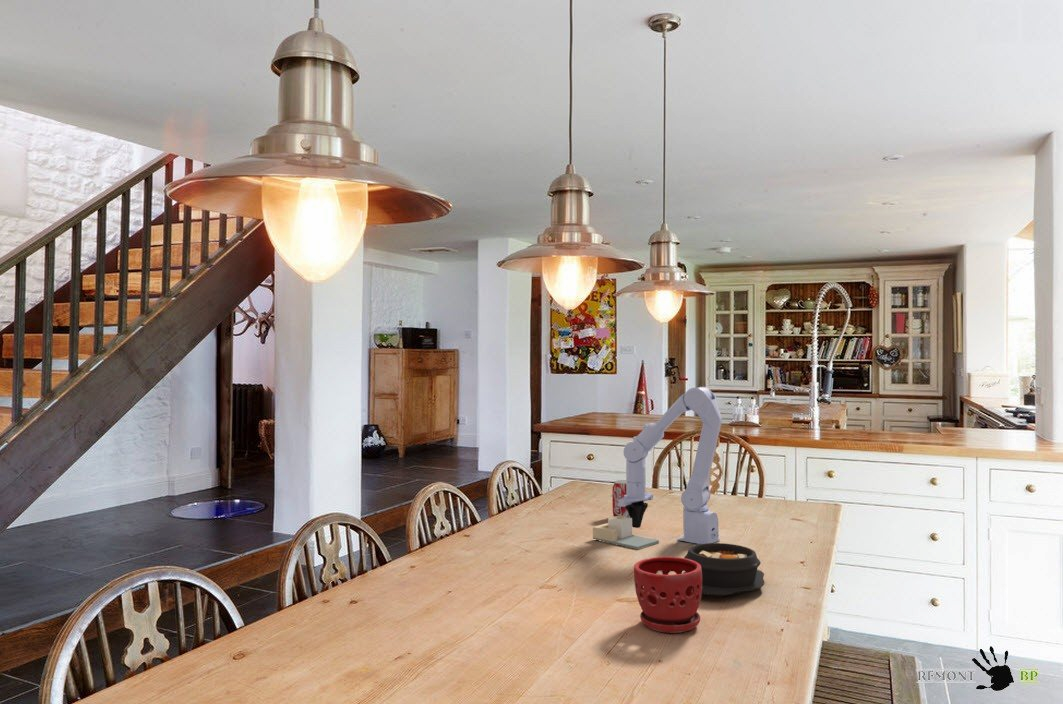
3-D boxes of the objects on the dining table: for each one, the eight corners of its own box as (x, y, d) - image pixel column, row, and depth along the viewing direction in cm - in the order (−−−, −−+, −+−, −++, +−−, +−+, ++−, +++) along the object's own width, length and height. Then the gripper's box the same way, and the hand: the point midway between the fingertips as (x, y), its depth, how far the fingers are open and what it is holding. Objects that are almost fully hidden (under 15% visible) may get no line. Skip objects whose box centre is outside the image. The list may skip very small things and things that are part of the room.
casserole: (736, 610, 153) (736, 569, 153) (658, 592, 165) (658, 555, 165) (783, 582, 172) (782, 546, 172) (710, 568, 184) (709, 534, 184)
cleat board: (658, 543, 209) (658, 529, 209) (637, 549, 202) (637, 535, 202) (614, 534, 221) (614, 521, 221) (593, 540, 213) (592, 526, 213)
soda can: (635, 520, 240) (635, 483, 240) (613, 520, 240) (613, 483, 240) (632, 515, 247) (632, 479, 247) (611, 515, 247) (611, 479, 247)
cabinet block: (632, 535, 215) (631, 516, 216) (621, 538, 212) (621, 518, 212) (618, 532, 219) (618, 513, 219) (608, 535, 215) (607, 516, 216)
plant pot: (655, 609, 153) (655, 552, 154) (714, 623, 145) (713, 562, 145) (621, 627, 143) (621, 565, 143) (682, 643, 135) (682, 577, 135)
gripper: (639, 477, 229) (639, 521, 228) (610, 483, 218) (610, 529, 218) (658, 479, 224) (658, 524, 223) (629, 485, 213) (629, 532, 213)
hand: (636, 527), depth 220 cm, fingers closed
